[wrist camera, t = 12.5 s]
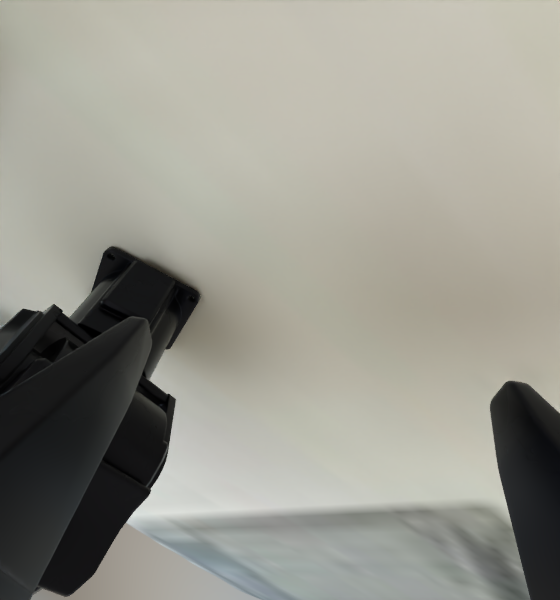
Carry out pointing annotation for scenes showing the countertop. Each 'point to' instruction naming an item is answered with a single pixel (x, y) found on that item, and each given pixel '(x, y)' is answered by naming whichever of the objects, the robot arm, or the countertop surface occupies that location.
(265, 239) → the countertop surface
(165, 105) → the countertop surface
